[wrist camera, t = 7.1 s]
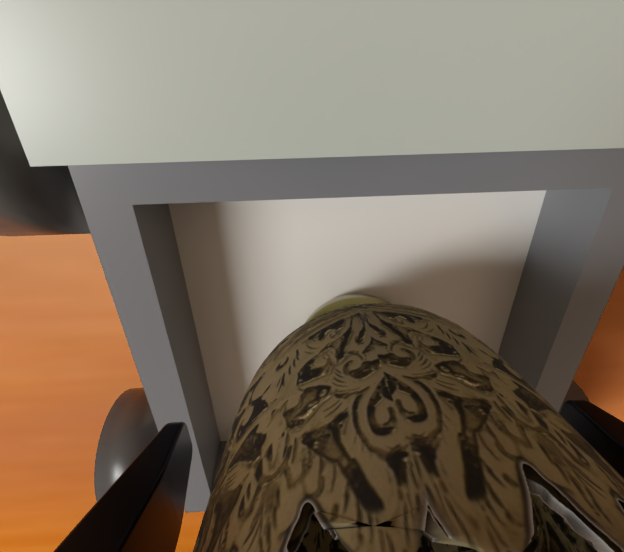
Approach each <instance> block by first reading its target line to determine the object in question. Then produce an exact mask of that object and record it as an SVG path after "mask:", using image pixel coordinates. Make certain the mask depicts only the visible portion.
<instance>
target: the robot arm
mask: <svg viewBox="0 0 624 552" xmlns="http://www.w3.org/2000/svg"><path fill="white" fill-rule="evenodd" d="M559 414H560V415H561V416H562V417H563V418H564V419H565V420H566V421H567V422H568V423H569V424H570V425H571V426H572V427H573V428H574V429H575V430H576V431H577V432H578V433H579V434H580V435H581V436H582V437H583V438H584V439H585V440H586V441H587V442H588V443H589V444H590V445H591V446H592V447H593V448H594V449H595V450H596V451H597V452H598V453H599V454H600V455H601V456H602V457H603V458H604V459H605V460H606V461H607V462H608V463H609V464H610V465H611V466H612V467H613V468H614V469H615V470H616V471H617V472H618V473H619V474H620V475H621V476H622V477H623V478H624V422H622V421H621V420H619V419H617V418H616V417H614V416H612V415H611V414H609V413H607V412H606V411H604V410H602V409H600V408H599V407H597V406H595V405H594V404H592V403H590V402H589V401H586V400H583V399H576V400H567V401H565V402H564V403H563V405H562V407H561V410H560V412H559ZM192 451H193V447H192V442H191V438H190V435H189V431H188V428H187V425H186V423H185V422H171V423H167V424H166V425H165V426H164V427H163V428H162V429H161V430H160V431H159V432H158V433H157V435H156V436H155V437H154V438H153V439H152V440H151V441H150V443H149V444H148V445H147V446H146V447H145V448H144V449H143V450H142V452H141V453H140V454H139V455H138V456H137V457H136V458H135V460H134V461H133V462H132V463H131V464H130V465H129V466H128V468H127V469H126V470H125V471H124V472H123V473H122V474H121V476H120V477H119V478H118V479H117V480H116V481H115V482H114V483H113V485H112V486H111V487H110V488H109V489H108V490H107V491H106V493H105V494H104V495H103V496H102V497H101V498H100V499H99V501H98V502H97V503H96V504H95V505H94V506H93V507H92V508H91V510H90V511H89V512H88V513H87V514H86V515H85V516H84V518H83V519H82V520H81V521H80V522H79V523H78V524H77V526H76V527H75V528H74V529H73V530H72V531H71V532H70V534H69V535H68V536H67V537H66V538H65V539H64V540H63V541H62V543H61V544H60V545H59V546H58V547H57V548H56V549H55V551H54V552H175V549H176V545H177V541H178V537H179V533H180V529H181V524H182V518H183V512H184V506H185V499H186V493H187V486H188V479H189V473H190V466H191V460H192Z"/></svg>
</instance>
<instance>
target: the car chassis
mask: <svg viewBox="0 0 624 552" xmlns="http://www.w3.org/2000/svg"><path fill="white" fill-rule="evenodd" d="M86 233H91V235H92V238H93V241H94V244H95V247H96V250H97V253H98V256H99V259H100V262H101V265H102V268H103V271H104V274H105V277H106V280H107V282H108V285H109V288H110V291H111V294H112V297H113V300H114V303H115V306H116V309H117V312H118V315H119V318H120V321H121V324H122V326H123V329H124V332H125V335H126V338H127V341H128V344H129V347H130V350H131V353H132V356H133V359H134V362H135V365H136V368H137V370H138V373H139V376H140V379H141V382H142V385H143V388H133V389H129V390H127V391H125V392H124V393H122V394H121V395H120V396H119V398H118V399H117V400H116V401H115V403H114V404H113V406H112V408H111V410H110V412H109V414H108V416H107V418H106V420H105V423H104V426H103V429H102V432H101V435H100V439H99V443H98V448H97V453H96V460H95V472H94V484H95V494H96V500H97V502H98V501H99V499H100V498H101V497H102V496H103V495H104V494H105V493H106V491H107V490H108V489H109V488H110V487H111V486H112V485H113V483H114V482H115V481H116V480H117V479H118V478H119V477H120V476H121V474H122V473H123V472H124V471H125V470H126V469H127V468H128V466H129V465H130V464H131V463H132V462H133V461H134V460H135V458H136V457H137V456H138V455H139V454H140V453H141V452H142V450H143V449H144V448H145V447H146V446H147V445H148V444H149V443H150V441H151V440H152V439H153V438H154V437H155V436H156V435H157V433H158V432H159V431H160V430H161V429H162V428H163V427H164V426H165V425H166V424H167V423H171V422H185V423H186V425H187V428H188V431H189V435H190V438H191V442H192V447H193V451H192V460H191V466H190V473H189V479H188V486H187V493H186V499H185V506H184V508H185V511H186V512H200V511H206V507H207V504H208V501H209V498H210V494H211V491H212V488H213V485H214V481H215V478H216V475H217V472H218V468H219V465H220V462H221V459H222V456H223V453H224V449H225V446H226V443H227V440H228V437H229V434H230V431H231V428H232V425H233V423H234V420H235V417H236V414H237V412H238V409H239V407H240V405H241V402H242V400H243V397H244V395H245V393H246V391H247V389H248V387H249V385H250V383H251V381H252V379H253V377H254V375H255V374H256V372H257V370H258V369H259V367H260V366H261V364H262V363H263V361H264V360H265V359H266V358H267V357H268V355H269V354H270V353H271V352H272V351H273V349H274V348H275V347H276V346H277V345H278V344H279V343H280V342H281V341H282V340H283V339H284V338H285V337H287V336H288V335H289V334H290V333H292V332H293V331H294V330H296V329H297V328H299V327H300V326H302V325H303V324H304V323H305V322H306V320H307V319H308V317H309V316H310V315H311V314H312V313H313V312H314V311H315V310H316V309H317V308H318V307H320V306H321V305H322V304H324V303H326V302H327V301H330V300H332V299H334V298H337V297H340V296H344V295H350V294H368V295H373V296H377V297H380V298H382V299H385V300H387V301H389V302H391V303H392V304H399V305H406V306H412V307H416V308H420V309H423V310H426V311H429V312H432V313H434V314H437V315H439V316H441V317H444V318H446V319H448V320H450V321H452V322H454V323H456V324H458V325H459V326H461V327H462V328H463V329H465V330H466V331H468V332H469V333H471V334H472V335H474V336H475V337H477V338H478V339H479V340H481V341H482V342H484V343H485V344H486V345H487V346H488V347H489V348H491V349H492V350H493V351H494V352H495V353H497V354H498V355H499V356H500V357H501V358H502V359H503V360H504V361H506V362H507V363H508V364H509V365H510V366H511V367H512V368H513V369H514V370H515V371H516V372H517V373H518V374H519V375H521V376H522V377H523V378H524V379H525V380H526V381H527V382H528V383H529V384H530V385H531V386H532V387H533V388H534V389H535V390H536V391H537V392H538V393H539V394H540V395H541V396H542V397H543V398H544V399H545V400H546V401H547V402H548V403H549V404H550V405H551V406H552V407H553V408H554V409H555V410H556V411H557V412H558V413H559V412H560V410H561V407H562V405H563V403H564V402H565V401H567V400H576V399H583V400H586V401H589V400H588V398H587V396H586V395H585V394H584V392H583V391H582V389H581V388H580V387H579V386H578V385H577V384H576V383H575V382H574V381H573V378H574V376H575V374H576V371H577V369H578V367H579V365H580V362H581V360H582V358H583V356H584V354H585V351H586V349H587V347H588V345H589V342H590V340H591V338H592V336H593V333H594V331H595V329H596V327H597V324H598V322H599V320H600V318H601V316H602V313H603V311H604V309H605V307H606V304H607V302H608V300H609V298H610V295H611V293H612V291H613V289H614V287H615V284H616V282H617V280H618V278H619V275H620V273H621V271H622V269H623V266H624V0H0V236H34V235H60V234H86ZM589 402H590V401H589Z"/></svg>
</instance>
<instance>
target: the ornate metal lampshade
mask: <svg viewBox="0 0 624 552" xmlns="http://www.w3.org/2000/svg"><path fill="white" fill-rule="evenodd" d="M193 552H624V478H623V477H622V476H621V475H620V474H619V473H618V472H617V471H616V470H615V469H614V468H613V467H612V466H611V465H610V464H609V463H608V462H607V461H606V460H605V459H604V458H603V457H602V456H601V455H600V454H599V453H598V452H597V451H596V450H595V449H594V448H593V447H592V446H591V445H590V444H589V443H588V442H587V441H586V440H585V439H584V438H583V437H582V436H581V435H580V434H579V433H578V432H577V431H576V430H575V429H574V428H573V427H572V426H571V425H570V424H569V423H568V422H567V421H566V420H565V419H564V418H563V417H562V416H561V415H560V414H559V413H558V412H557V411H556V410H555V409H554V408H553V407H552V406H551V405H550V404H549V403H548V402H547V401H546V400H545V399H544V398H543V397H542V396H541V395H540V394H539V393H538V392H537V391H536V390H535V389H534V388H533V387H532V386H531V385H530V384H529V383H528V382H527V381H526V380H525V379H524V378H523V377H522V376H521V375H519V374H518V373H517V372H516V371H515V370H514V369H513V368H512V367H511V366H510V365H509V364H508V363H507V362H506V361H504V360H503V359H502V358H501V357H500V356H499V355H498V354H497V353H495V352H494V351H493V350H492V349H491V348H489V347H488V346H487V345H486V344H485V343H484V342H482V341H481V340H479V339H478V338H477V337H475V336H474V335H472V334H471V333H469V332H468V331H466V330H465V329H463V328H462V327H461V326H459V325H458V324H456V323H454V322H452V321H450V320H448V319H446V318H444V317H441V316H439V315H437V314H434V313H432V312H429V311H426V310H423V309H420V308H416V307H412V306H406V305H399V304H392V303H391V302H389V301H387V300H385V299H382V298H380V297H377V296H373V295H368V294H350V295H344V296H340V297H337V298H334V299H332V300H330V301H327V302H326V303H324V304H322V305H321V306H320V307H318V308H317V309H316V310H315V311H314V312H313V313H312V314H311V315H310V316H309V317H308V319H307V320H306V322H305V323H304V324H303V325H302V326H300V327H299V328H297V329H296V330H294V331H293V332H292V333H290V334H289V335H288V336H287V337H285V338H284V339H283V340H282V341H281V342H280V343H279V344H278V345H277V346H276V347H275V348H274V349H273V351H272V352H271V353H270V354H269V355H268V357H267V358H266V359H265V360H264V361H263V363H262V364H261V366H260V367H259V369H258V370H257V372H256V374H255V375H254V377H253V379H252V381H251V383H250V385H249V387H248V389H247V391H246V393H245V395H244V397H243V400H242V402H241V405H240V407H239V409H238V412H237V414H236V417H235V420H234V423H233V425H232V428H231V431H230V434H229V437H228V440H227V443H226V446H225V449H224V453H223V456H222V459H221V462H220V465H219V468H218V472H217V475H216V478H215V481H214V485H213V488H212V491H211V494H210V498H209V501H208V504H207V507H206V511H205V514H204V517H203V520H202V524H201V527H200V530H199V534H198V537H197V540H196V544H195V547H194V550H193Z"/></svg>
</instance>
